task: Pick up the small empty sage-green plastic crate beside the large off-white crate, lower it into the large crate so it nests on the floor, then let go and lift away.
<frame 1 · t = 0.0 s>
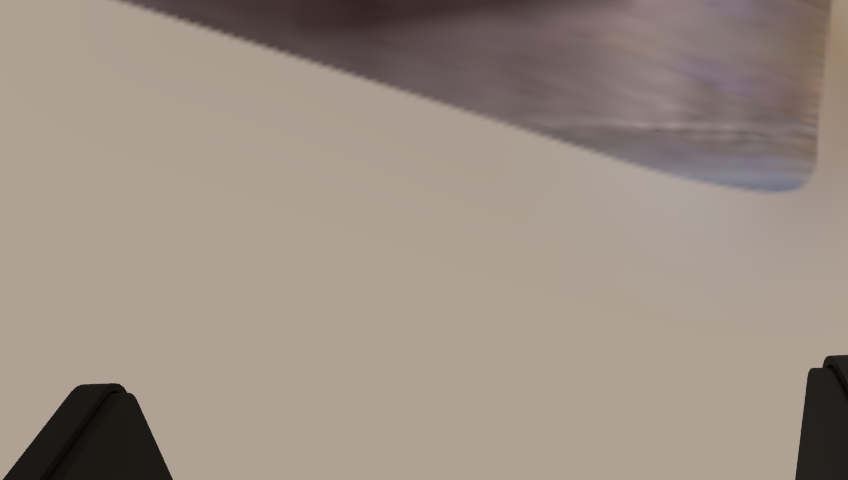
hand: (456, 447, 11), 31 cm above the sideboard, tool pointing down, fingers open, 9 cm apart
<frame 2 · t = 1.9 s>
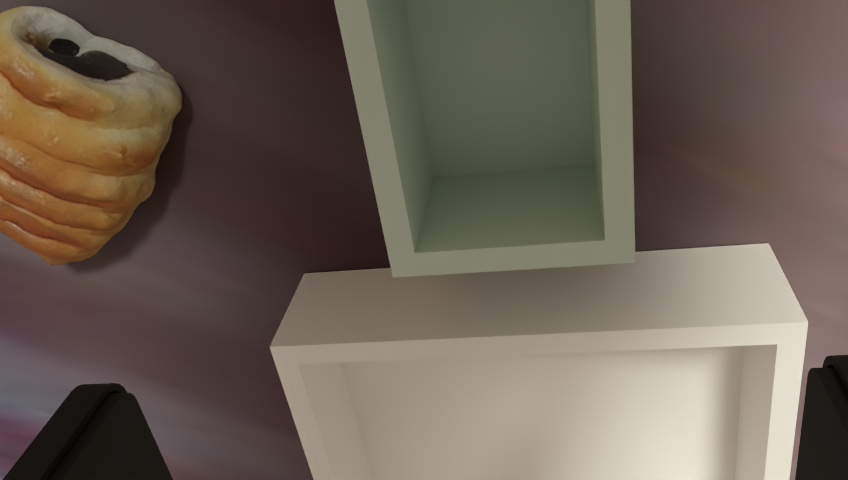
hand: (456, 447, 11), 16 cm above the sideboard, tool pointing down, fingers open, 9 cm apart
pastry: (94, 123, 28), on the sideboard
big crate: (539, 409, 31), on the sideboard
small crate: (501, 59, 24), on the sideboard
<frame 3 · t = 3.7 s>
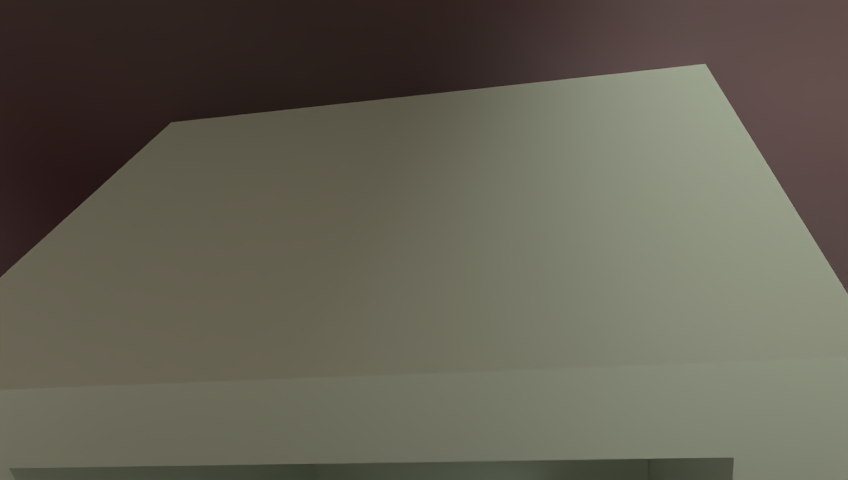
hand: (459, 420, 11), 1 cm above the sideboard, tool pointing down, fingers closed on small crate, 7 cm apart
small crate: (465, 365, 12), on the sideboard, touching gripper
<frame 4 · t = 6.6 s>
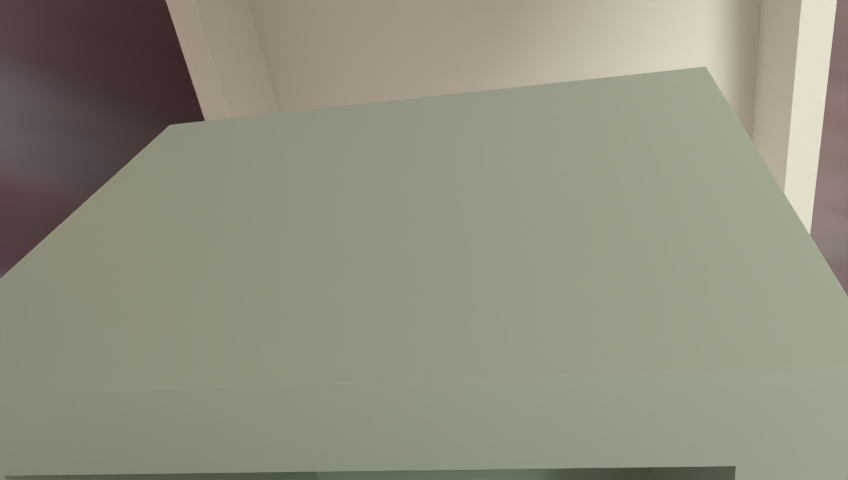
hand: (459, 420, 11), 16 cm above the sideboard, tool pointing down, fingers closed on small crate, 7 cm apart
big crate: (503, 72, 25), on the sideboard
small crate: (464, 369, 12), point 15 cm above the sideboard, touching gripper
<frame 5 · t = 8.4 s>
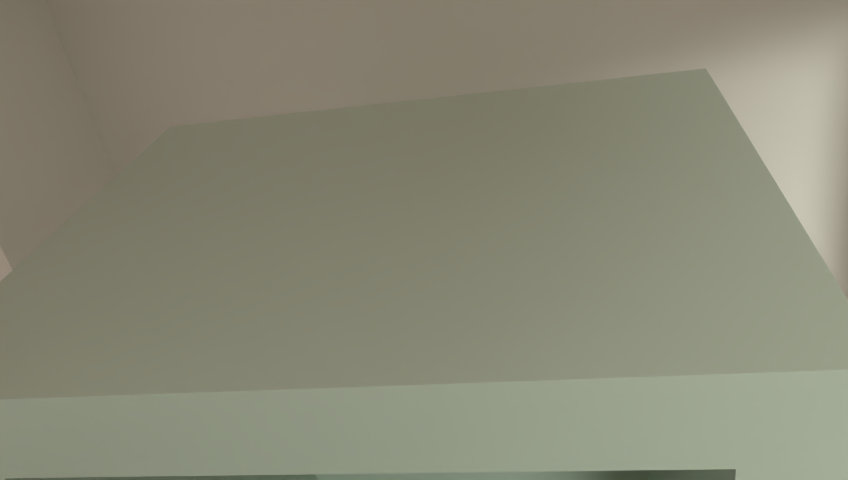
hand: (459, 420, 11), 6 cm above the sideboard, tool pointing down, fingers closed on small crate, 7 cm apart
big crate: (483, 200, 16), on the sideboard
small crate: (465, 370, 12), point 5 cm above the sideboard, touching gripper
when the fingers open (3 cm above the sideboard, at t = 9.6 s): small crate drops 1 cm, resting on big crate.
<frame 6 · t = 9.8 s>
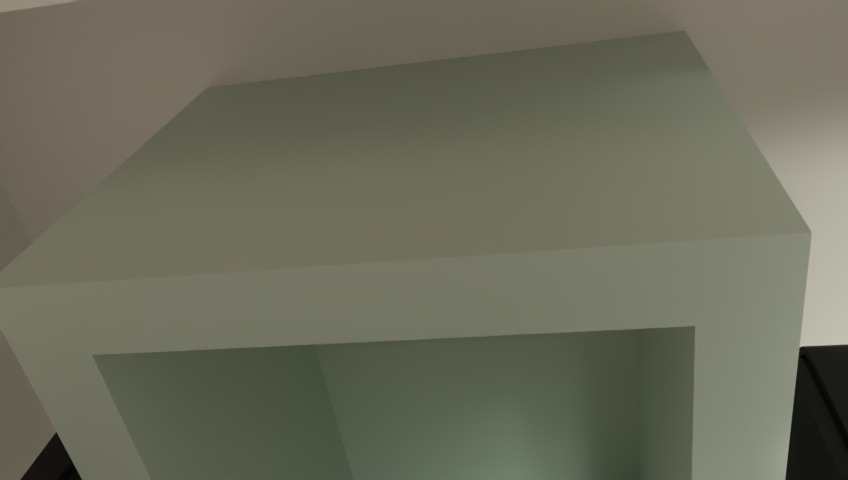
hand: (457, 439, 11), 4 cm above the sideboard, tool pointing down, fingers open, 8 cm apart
big crate: (475, 295, 14), on the sideboard
small crate: (471, 314, 13), point 1 cm above the sideboard, touching big crate
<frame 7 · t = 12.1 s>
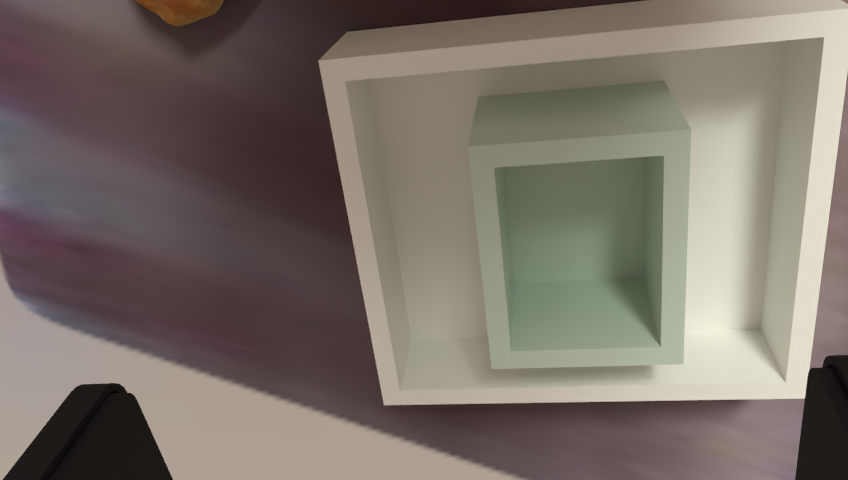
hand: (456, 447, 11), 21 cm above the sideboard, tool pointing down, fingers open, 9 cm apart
big crate: (573, 191, 32), on the sideboard
small crate: (573, 196, 31), point 1 cm above the sideboard, touching big crate
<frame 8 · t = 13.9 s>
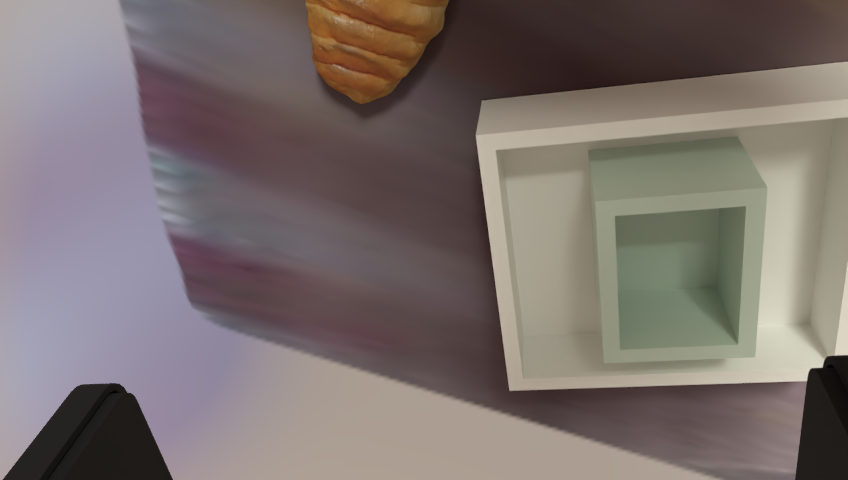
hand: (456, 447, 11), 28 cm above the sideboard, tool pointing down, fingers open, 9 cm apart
big crate: (659, 218, 40), on the sideboard
small crate: (661, 223, 39), point 1 cm above the sideboard, touching big crate
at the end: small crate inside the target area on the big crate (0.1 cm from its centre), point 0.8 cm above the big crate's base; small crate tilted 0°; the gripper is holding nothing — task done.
